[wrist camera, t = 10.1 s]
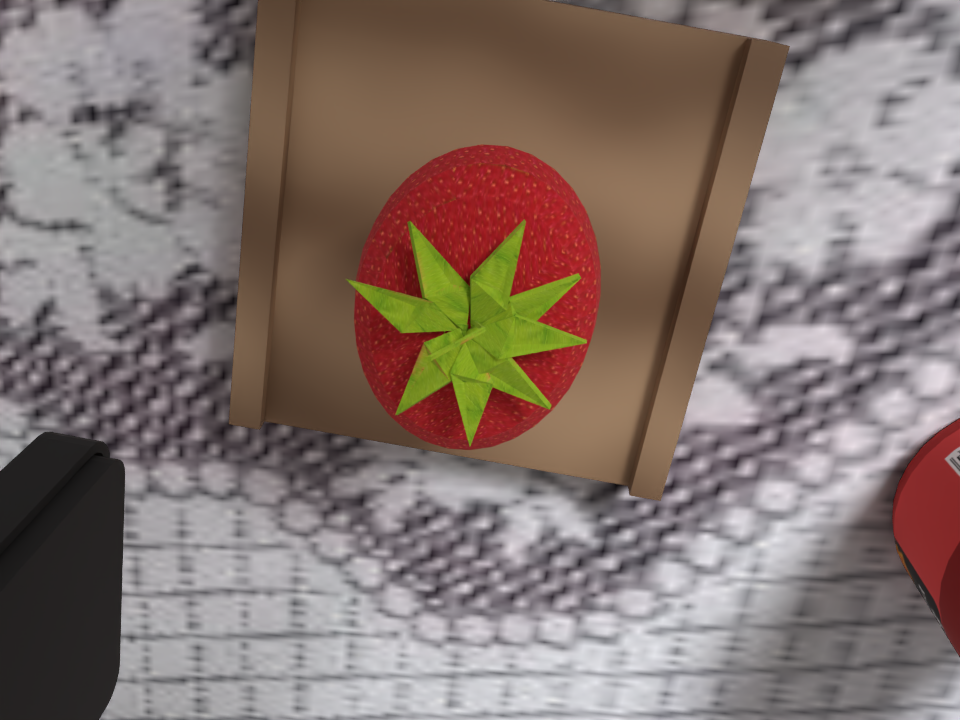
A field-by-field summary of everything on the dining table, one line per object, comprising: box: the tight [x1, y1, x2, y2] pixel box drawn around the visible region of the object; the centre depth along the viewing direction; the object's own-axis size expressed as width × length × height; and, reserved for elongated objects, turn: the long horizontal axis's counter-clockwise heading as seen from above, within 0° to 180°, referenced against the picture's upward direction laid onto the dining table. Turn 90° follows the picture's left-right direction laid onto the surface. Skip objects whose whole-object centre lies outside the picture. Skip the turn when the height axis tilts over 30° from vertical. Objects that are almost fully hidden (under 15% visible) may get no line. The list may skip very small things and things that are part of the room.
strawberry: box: [346, 144, 601, 450], centre depth 23 cm, size 6×8×10 cm
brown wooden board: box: [229, 0, 790, 501], centre depth 28 cm, size 14×14×3 cm
